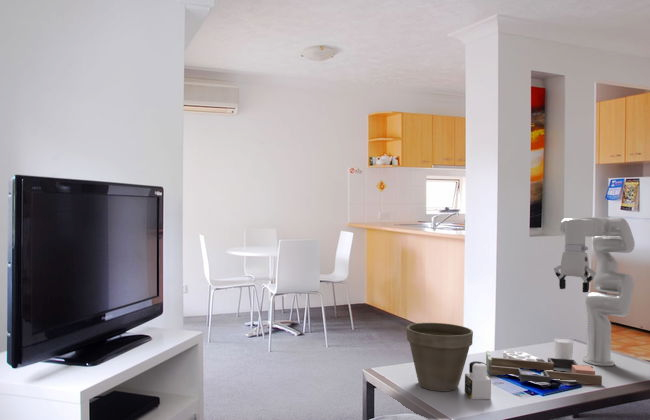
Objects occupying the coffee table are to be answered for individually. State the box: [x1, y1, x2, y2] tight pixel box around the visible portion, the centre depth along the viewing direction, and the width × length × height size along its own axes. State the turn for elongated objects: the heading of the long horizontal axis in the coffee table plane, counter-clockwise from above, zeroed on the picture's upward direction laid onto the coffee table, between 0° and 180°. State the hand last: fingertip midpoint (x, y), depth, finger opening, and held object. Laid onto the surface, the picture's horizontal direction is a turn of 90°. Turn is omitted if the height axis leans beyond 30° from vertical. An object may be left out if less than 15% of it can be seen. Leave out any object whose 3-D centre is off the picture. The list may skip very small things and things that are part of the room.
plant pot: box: [406, 322, 474, 392], centre depth 195 cm, size 25×25×22 cm
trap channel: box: [485, 350, 603, 386], centre depth 211 cm, size 30×42×6 cm
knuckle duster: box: [502, 350, 546, 362], centre depth 229 cm, size 3×18×15 cm
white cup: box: [553, 338, 574, 360], centre depth 229 cm, size 8×8×10 cm
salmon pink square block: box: [572, 364, 596, 375], centre depth 207 cm, size 7×7×4 cm
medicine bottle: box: [464, 360, 492, 401], centre depth 184 cm, size 7×7×12 cm
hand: (573, 290), depth 209 cm, fingers open, 9 cm apart
